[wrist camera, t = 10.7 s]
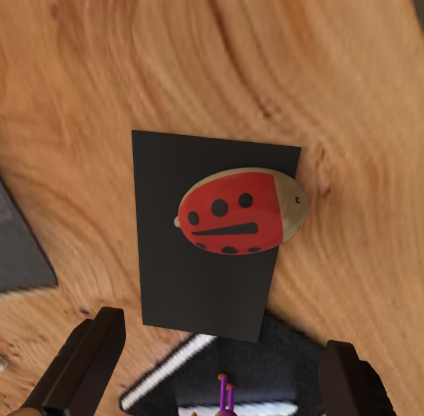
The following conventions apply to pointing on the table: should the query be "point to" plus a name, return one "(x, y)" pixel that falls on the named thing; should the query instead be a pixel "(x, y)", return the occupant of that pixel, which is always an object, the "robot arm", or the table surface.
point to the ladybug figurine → (242, 211)
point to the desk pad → (188, 252)
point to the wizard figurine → (225, 414)
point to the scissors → (3, 364)
